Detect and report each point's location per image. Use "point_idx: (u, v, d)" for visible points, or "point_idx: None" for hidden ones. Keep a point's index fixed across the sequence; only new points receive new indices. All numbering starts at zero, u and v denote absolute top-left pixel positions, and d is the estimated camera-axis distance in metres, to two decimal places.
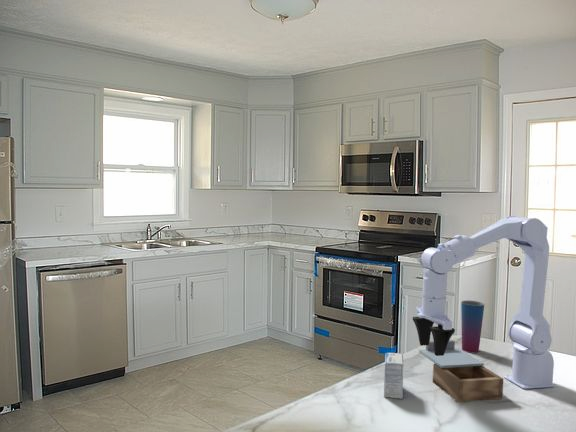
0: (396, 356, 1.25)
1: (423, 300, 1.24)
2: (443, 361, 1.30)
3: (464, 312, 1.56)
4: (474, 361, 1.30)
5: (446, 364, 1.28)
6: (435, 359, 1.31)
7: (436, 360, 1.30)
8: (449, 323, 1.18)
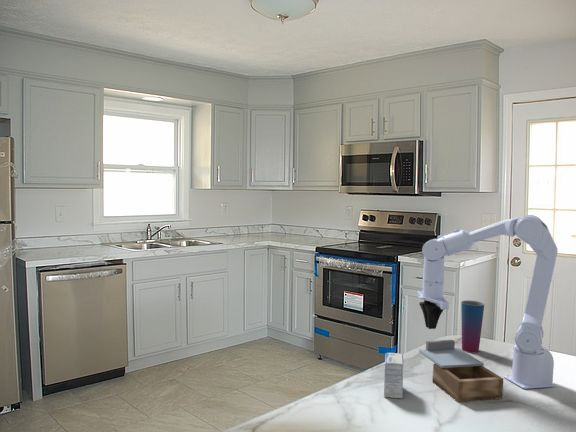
0: (396, 356, 1.25)
1: (423, 284, 1.43)
2: (443, 361, 1.30)
3: (464, 312, 1.56)
4: (474, 361, 1.30)
5: (446, 364, 1.28)
6: (435, 359, 1.31)
7: (436, 360, 1.30)
8: (446, 303, 1.36)
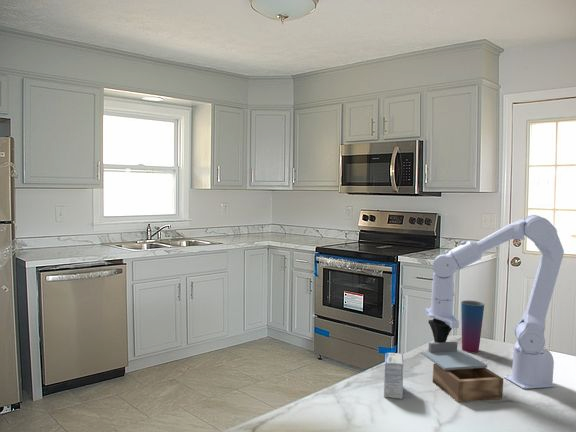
0: (396, 356, 1.25)
1: (432, 301, 1.38)
2: (446, 363, 1.28)
3: (464, 312, 1.56)
4: (477, 363, 1.29)
5: (449, 366, 1.26)
6: (438, 361, 1.30)
7: (439, 362, 1.29)
8: (456, 322, 1.32)
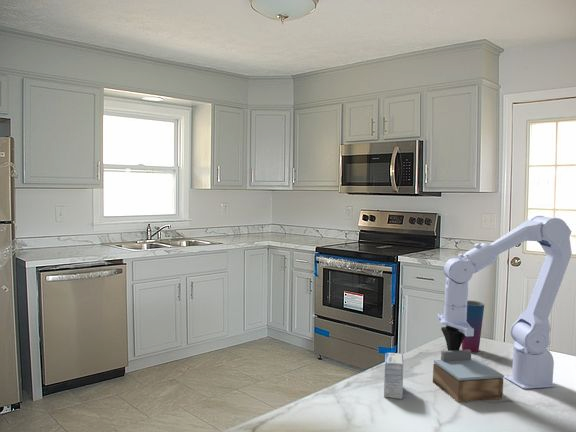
0: (396, 356, 1.25)
1: (445, 308, 1.31)
2: (460, 373, 1.22)
3: None
4: (493, 373, 1.23)
5: (464, 376, 1.20)
6: (452, 371, 1.23)
7: (453, 372, 1.22)
8: (471, 330, 1.25)
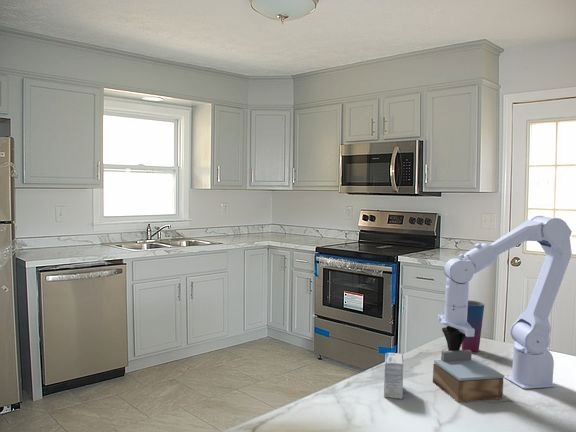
0: (396, 356, 1.25)
1: (446, 308, 1.31)
2: (461, 373, 1.22)
3: None
4: (494, 373, 1.22)
5: (464, 376, 1.20)
6: (452, 371, 1.23)
7: (453, 372, 1.22)
8: (471, 330, 1.25)
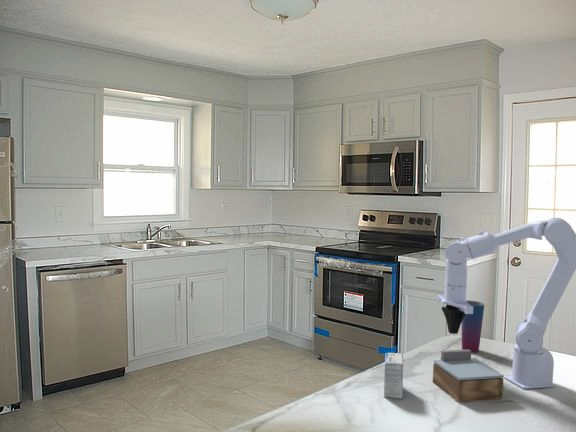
0: (396, 356, 1.25)
1: (446, 288, 1.39)
2: (460, 373, 1.22)
3: None
4: (493, 372, 1.23)
5: (464, 376, 1.20)
6: (451, 370, 1.23)
7: (453, 372, 1.22)
8: (470, 308, 1.32)
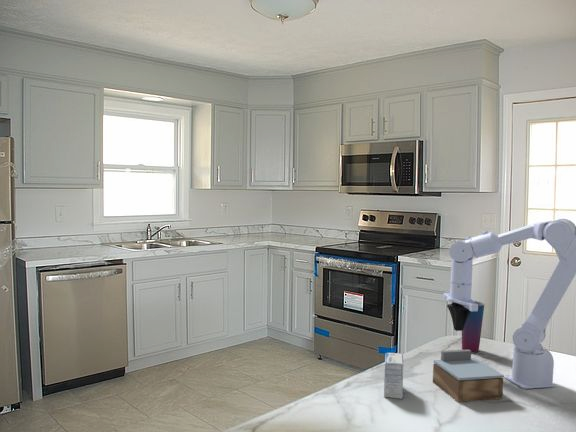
0: (396, 356, 1.25)
1: (451, 286, 1.41)
2: (460, 373, 1.22)
3: None
4: (493, 372, 1.23)
5: (464, 376, 1.20)
6: (451, 370, 1.23)
7: (453, 372, 1.22)
8: (475, 305, 1.35)
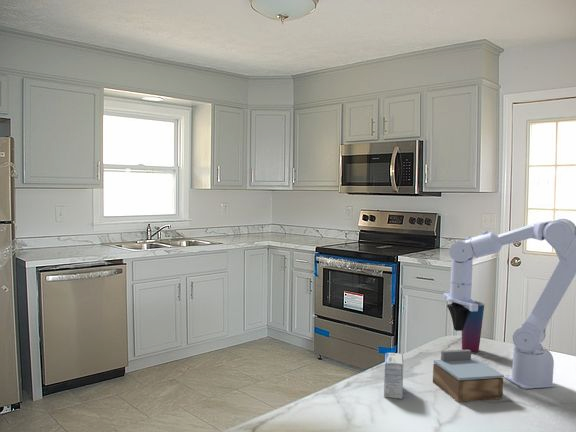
0: (396, 356, 1.25)
1: (451, 286, 1.41)
2: (460, 373, 1.22)
3: None
4: (493, 372, 1.23)
5: (464, 376, 1.20)
6: (451, 370, 1.23)
7: (453, 372, 1.22)
8: (475, 305, 1.35)
